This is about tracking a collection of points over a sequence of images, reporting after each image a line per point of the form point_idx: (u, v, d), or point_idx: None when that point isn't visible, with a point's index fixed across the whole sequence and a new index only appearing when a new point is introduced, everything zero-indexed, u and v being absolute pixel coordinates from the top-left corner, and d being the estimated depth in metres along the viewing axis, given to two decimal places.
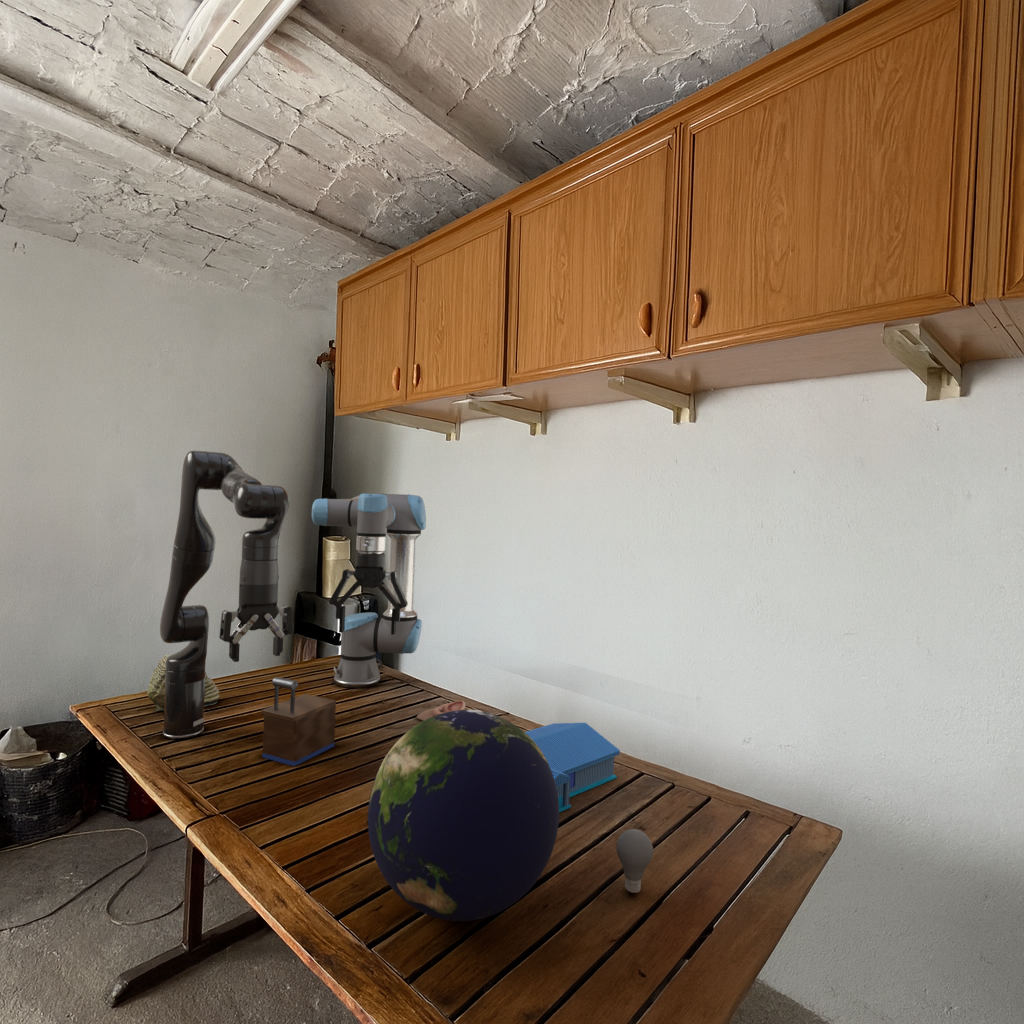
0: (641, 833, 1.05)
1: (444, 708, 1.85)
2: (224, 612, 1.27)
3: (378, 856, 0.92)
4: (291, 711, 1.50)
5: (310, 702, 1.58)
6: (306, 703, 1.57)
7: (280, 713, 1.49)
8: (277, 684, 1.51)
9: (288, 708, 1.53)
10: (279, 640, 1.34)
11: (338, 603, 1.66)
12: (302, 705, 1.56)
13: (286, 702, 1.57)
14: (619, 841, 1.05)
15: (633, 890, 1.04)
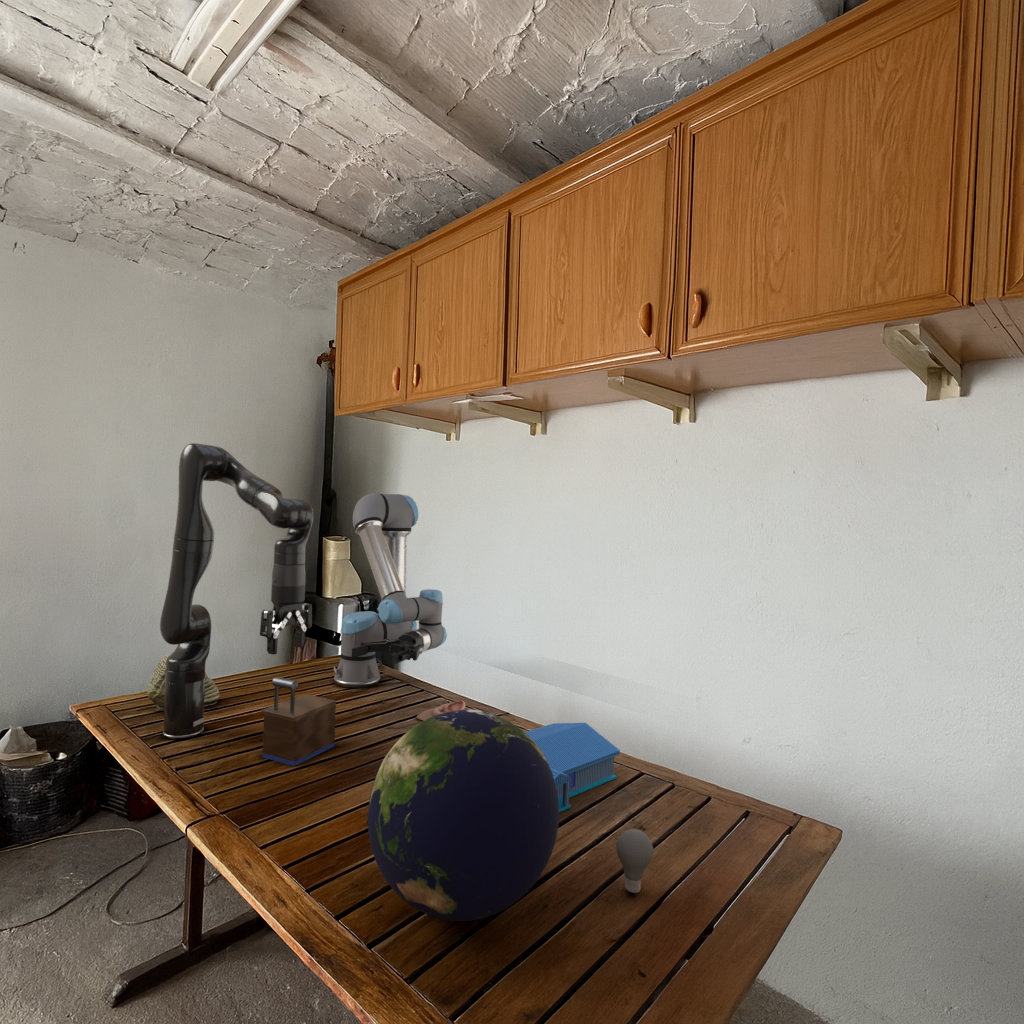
0: (641, 833, 1.05)
1: (444, 708, 1.85)
2: None
3: (378, 856, 0.92)
4: (291, 711, 1.50)
5: (310, 702, 1.58)
6: (306, 703, 1.57)
7: (280, 713, 1.49)
8: (277, 684, 1.51)
9: (288, 708, 1.53)
10: None
11: None
12: (302, 705, 1.56)
13: (286, 702, 1.57)
14: (619, 841, 1.05)
15: (633, 890, 1.04)
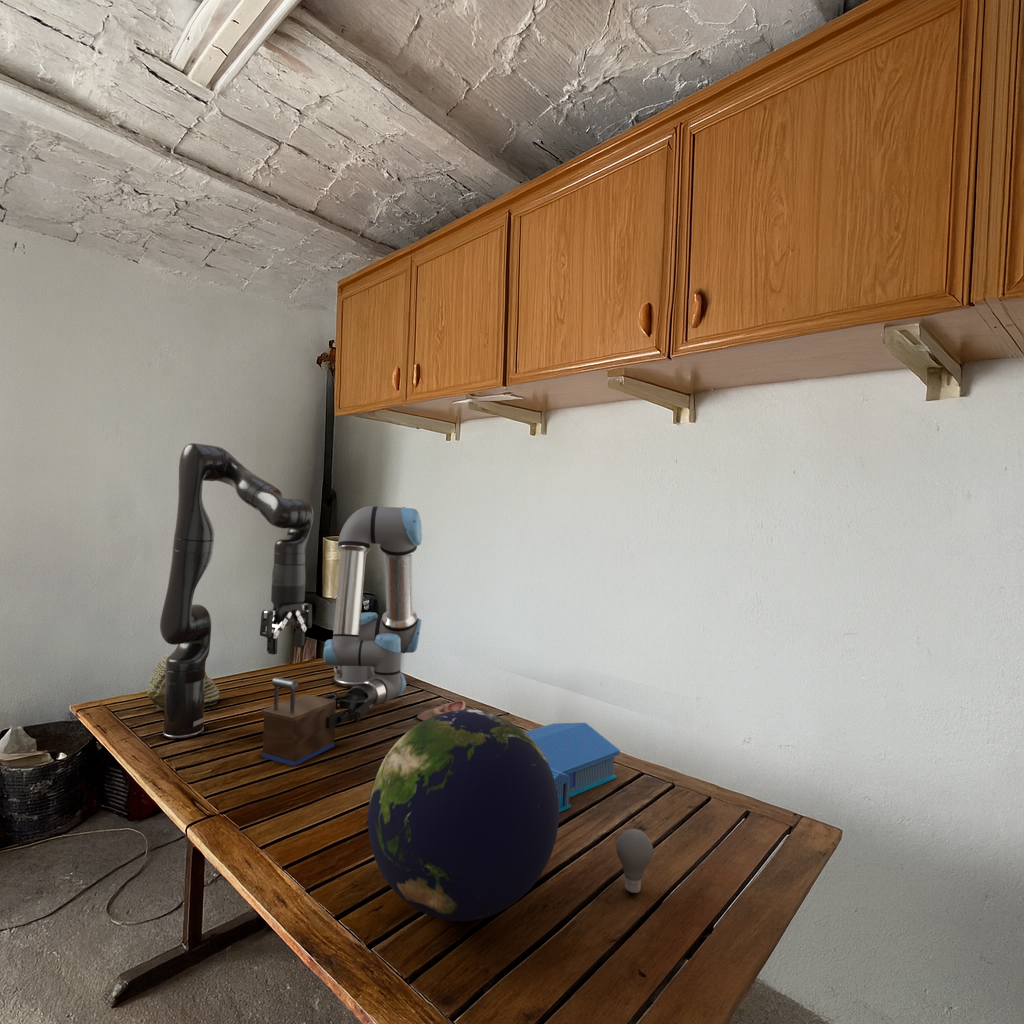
0: (641, 833, 1.05)
1: (444, 708, 1.85)
2: None
3: (378, 856, 0.92)
4: (291, 711, 1.50)
5: (310, 702, 1.58)
6: (306, 703, 1.57)
7: (280, 713, 1.49)
8: (277, 684, 1.51)
9: (288, 708, 1.53)
10: None
11: None
12: (302, 705, 1.56)
13: (286, 702, 1.57)
14: (619, 841, 1.05)
15: (633, 890, 1.04)
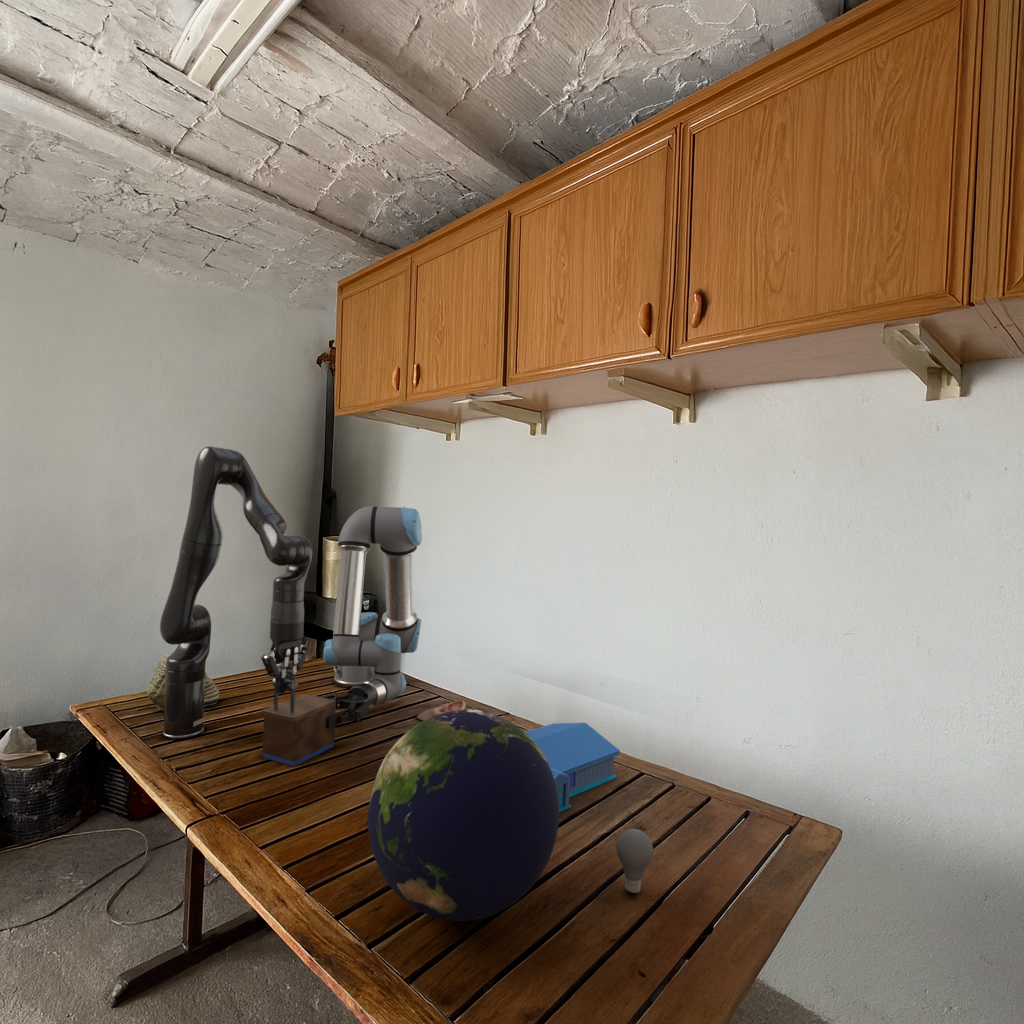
0: (641, 833, 1.05)
1: (444, 708, 1.85)
2: None
3: (378, 856, 0.92)
4: (291, 711, 1.50)
5: (310, 702, 1.58)
6: (306, 703, 1.57)
7: (280, 713, 1.49)
8: None
9: (288, 708, 1.53)
10: None
11: None
12: (302, 705, 1.56)
13: (286, 702, 1.57)
14: (619, 841, 1.05)
15: (633, 890, 1.04)
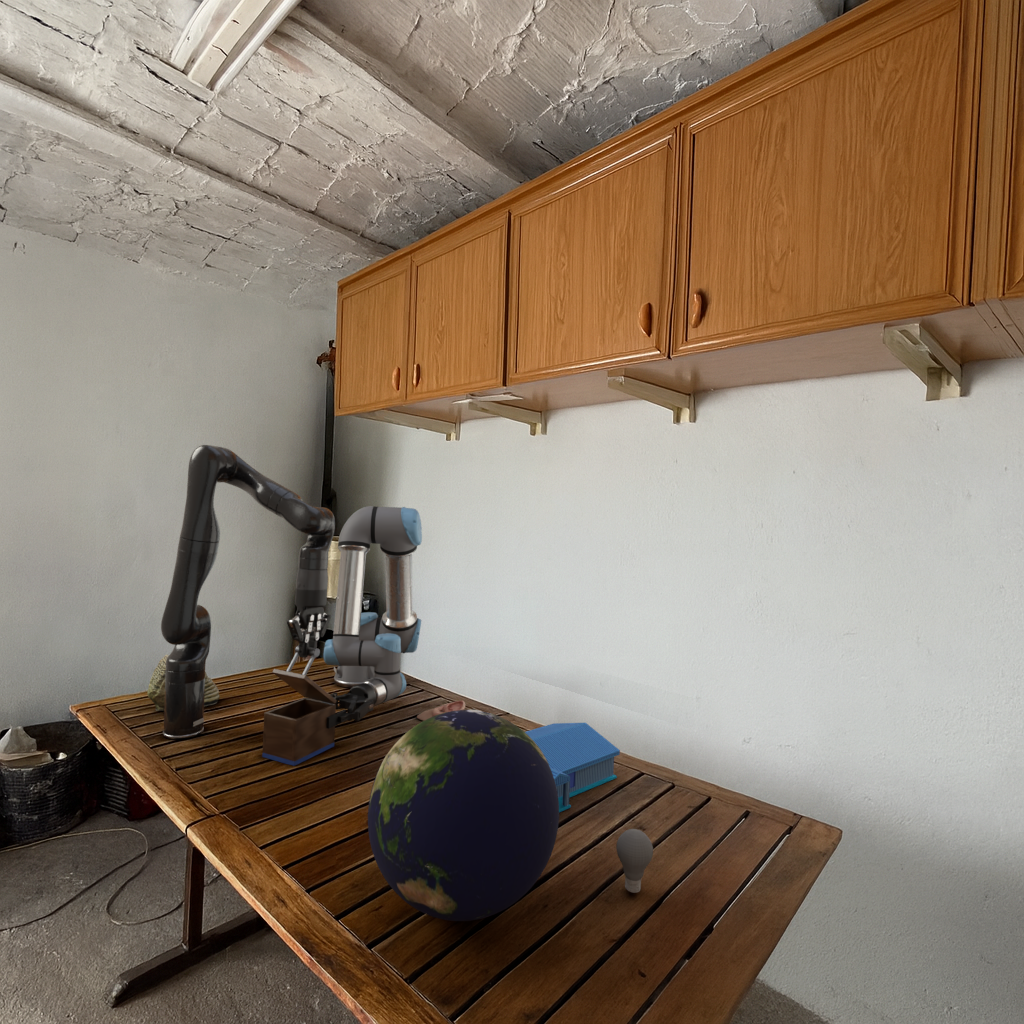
0: (641, 833, 1.05)
1: (444, 708, 1.85)
2: None
3: (378, 856, 0.92)
4: (303, 675, 1.53)
5: None
6: None
7: None
8: None
9: None
10: None
11: None
12: None
13: None
14: (619, 841, 1.05)
15: (633, 890, 1.04)
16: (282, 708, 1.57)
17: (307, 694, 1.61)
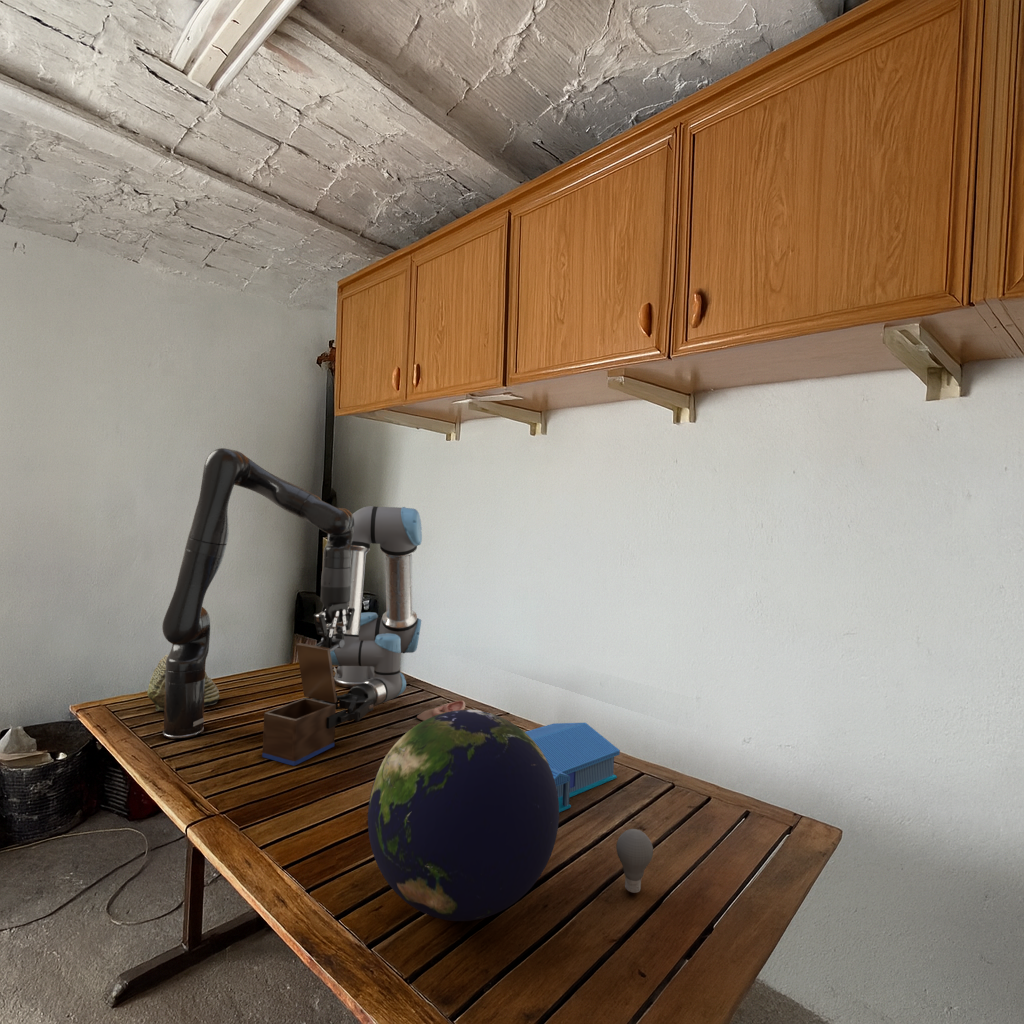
0: (641, 833, 1.05)
1: (444, 708, 1.85)
2: None
3: (378, 856, 0.92)
4: None
5: None
6: None
7: None
8: None
9: None
10: None
11: None
12: None
13: None
14: (619, 841, 1.05)
15: (633, 890, 1.04)
16: (282, 708, 1.57)
17: (311, 687, 1.62)
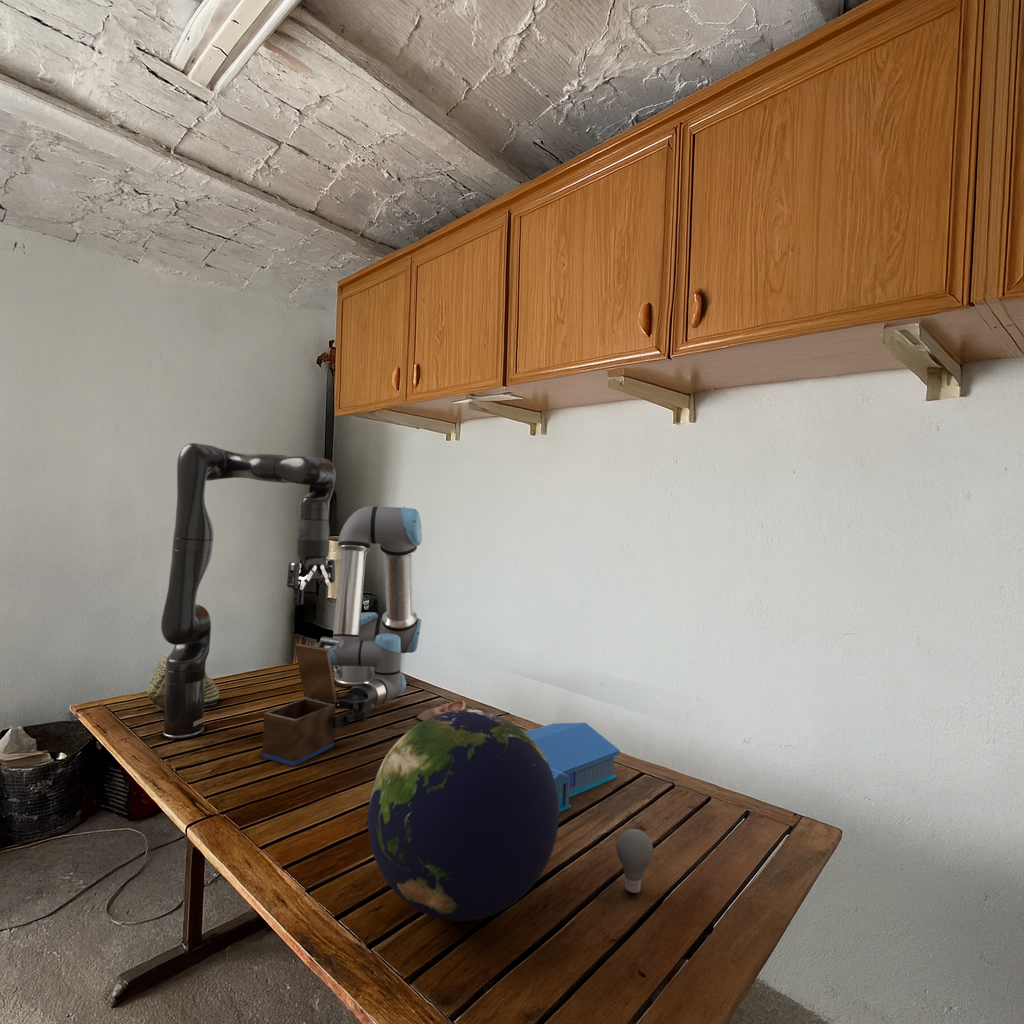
0: (641, 833, 1.05)
1: (444, 708, 1.85)
2: None
3: (378, 856, 0.92)
4: None
5: None
6: None
7: None
8: (326, 638, 1.66)
9: None
10: None
11: None
12: None
13: None
14: (619, 841, 1.05)
15: (633, 890, 1.04)
16: (282, 708, 1.57)
17: (311, 688, 1.62)
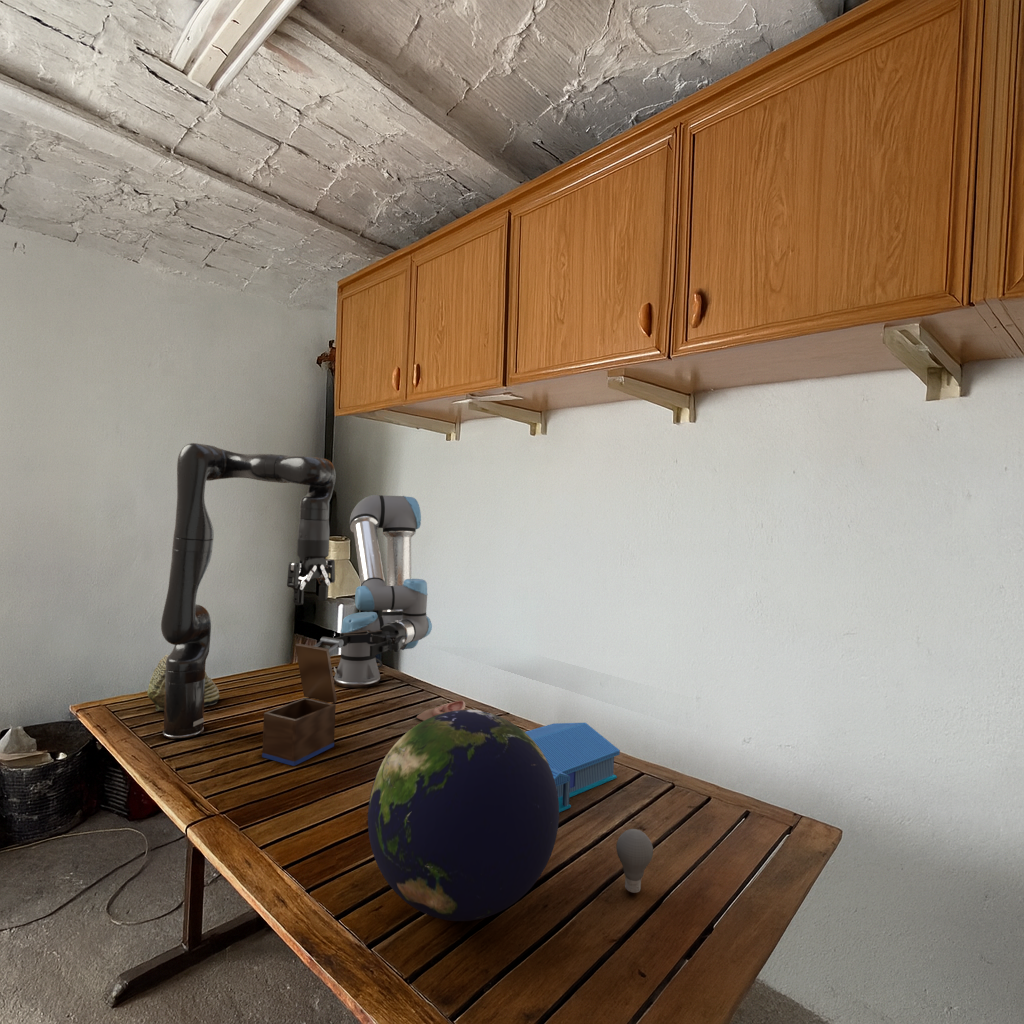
0: (641, 833, 1.05)
1: (444, 708, 1.85)
2: None
3: (378, 856, 0.92)
4: None
5: None
6: None
7: None
8: (326, 638, 1.66)
9: None
10: None
11: None
12: None
13: None
14: (619, 841, 1.05)
15: (633, 890, 1.04)
16: (282, 708, 1.57)
17: (311, 688, 1.62)
